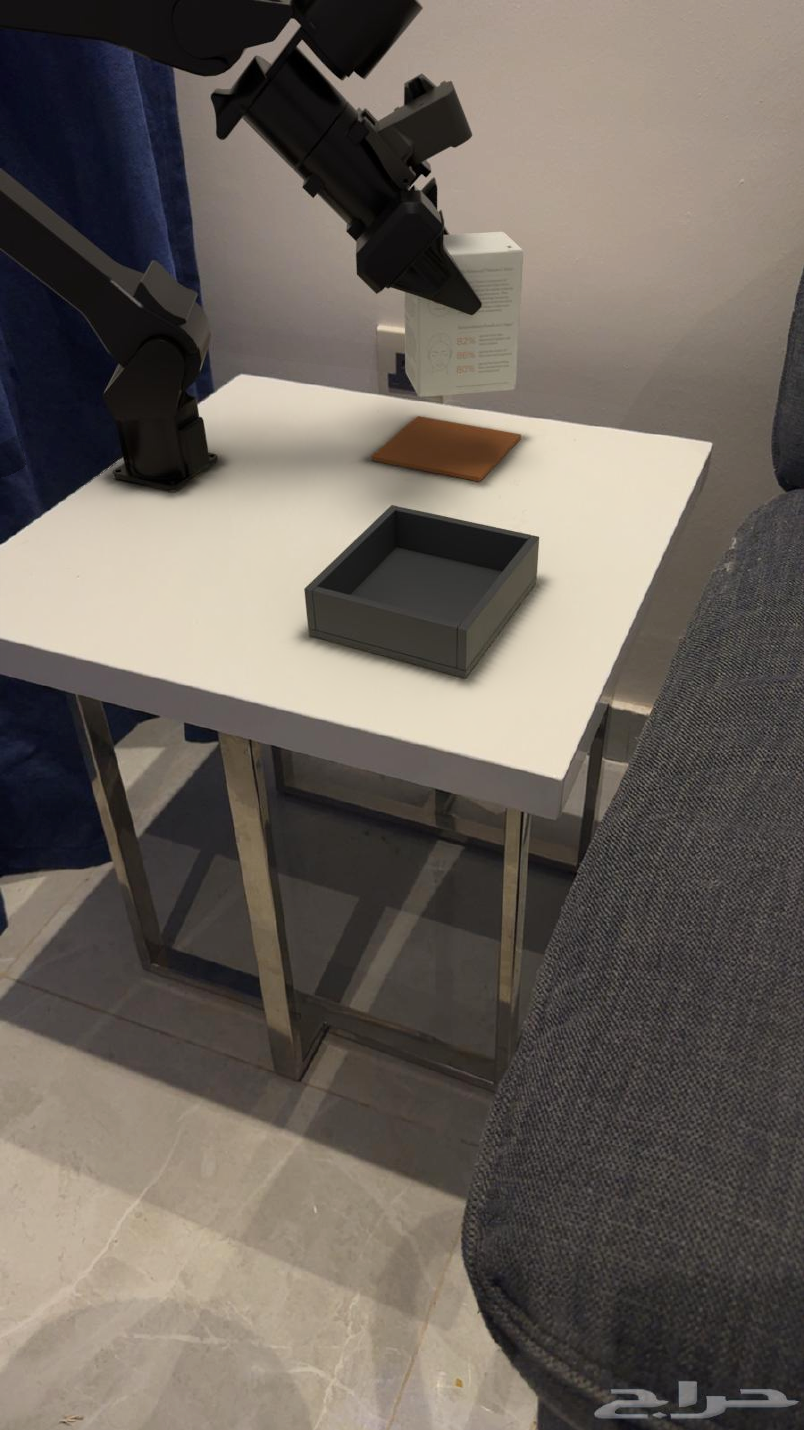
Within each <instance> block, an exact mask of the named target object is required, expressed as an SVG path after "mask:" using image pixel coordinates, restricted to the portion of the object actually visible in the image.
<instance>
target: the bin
mask: <svg viewBox="0 0 804 1430" xmlns="http://www.w3.org/2000/svg"><path fill="white" fill-rule="evenodd" d="M539 548H540V536H537V535H533V534H529V533H524V532H519V531H515V530H510V529H506V528H501V527H497V526H492V525H488V524H482V523H478V522H473V521H469V520H463V519H459V518H454V517H450V516H446V515H442V514H441V515H440V514H436V513H431V512H427V511H422V510H417V509H412V508H408V507H403V506H400V505H399V506H398V505H393V504H391V505H390V506H389V507H388V508H387V509H385V511H384V512H383V513H382V514H380V515H379V516H378V517H377V518H376V519H375V521H373V522H372V523H371V524H370V525H369V526H368V527H367V528H365V530H364V531H363V532H362V533H361V534H359V536H357V537H356V538H355V539H354V540H353V541H352V542H351V543H350V544H349V545H348V546H347V547H346V548H345V549H344V550H343V551H342V552H341V553H340V554H339V555H338V556H337V557H336V558H335V559H333V561H331V562H330V563H329V564H328V565H327V566H326V567H325V568H324V569H323V570H322V571H321V572H320V573H319V574H318V575H316V577H315V578H314V579H312V581H310V583H308V585H307V586H305V587H304V588H303V590H304V600H305V611H306V621H307V628H308V635H309V636H310V637H314V638H318V639H322V640H325V641H328V642H332V643H336V644H338V645H339V644H340V645H342V646H346V647H351V648H354V649H357V650H361V651H365V652H369V653H372V654H376V655H380V656H382V657H387V658H391V659H394V660H396V661H397V660H398V661H402V662H405V663H409V664H412V665H416V666H420V667H424V668H427V669H431V670H434V671H437V672H441V673H445V674H448V675H452V676H456V677H460V678H464V679H467V677H468V675H469V674H470V673H471V671H472V670H473V669H474V668H475V666H476V665H477V663H478V662H479V661H480V659H481V658H482V657H483V655H484V654H485V652H486V651H487V650H488V648H489V647H490V646H491V645H492V643H493V642H494V641H495V639H496V637H498V635H499V633H500V632H501V631H502V629H503V628H504V627H505V625H506V624H507V623H508V621H509V620H510V619H511V617H512V616H513V614H514V613H515V612H516V610H517V609H518V608H519V606H520V605H521V604H522V602H523V601H524V600H525V598H526V597H527V595H529V593H530V591H531V590H532V589H533V587H534V586H535V585H536V583H537V582H538V581H537V579H538V565H539V551H540V549H539Z"/></svg>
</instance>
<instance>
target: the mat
mask: <svg viewBox="0 0 804 1430" xmlns="http://www.w3.org/2000/svg"><path fill="white" fill-rule="evenodd" d="M521 438H522V434H521V433H515V432H509V431H503V430H498V429H493V428H488V427H487V428H486V427H480V426H475V425H470V424H466V423H465V424H464V423H459V422H453V421H448V420H440V419H437V418H436V419H435V418H431V417H425V416H419V415H418V416H416V417H415V418H414V419H413V420H411V421H410V422H409V423H408V424H407V425H405V426H404V427H403V428H402V429H401V430H400V431H398V432H397V433H396V434H395V435H394V436H393V437H391V438H390V439H389V440H388V441H387V442H386V443H384V445H382V446H381V447H380V448H379V449H378V450H376V451H375V452H374V453H373V454H372V455H371V456H370V459H371V461H373V462H379V463H383V464H389V465H394V466H398V467H403V468H407V469H414V470H420V471H423V472H424V471H425V472H429V473H435V474H440V475H444V476H449V477H455V478H458V479H459V478H460V479H465V480H469V481H475V482H478V483H479V482H482V481H483V479H484V478H485V477H486V476H487V475H488V474H489V473H490V472H491V471H492V470H493V469H494V468H495V466H497V465H498V464H499V462H500V461H501V460H502V459H503V458H504V457H505V456H506V455H507V454H508V453H509V451H511V450H512V448H513V447H514V446H515V445H516V444H517V443H518V442H519V441H520V440H521Z"/></svg>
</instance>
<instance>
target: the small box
mask: <svg viewBox="0 0 804 1430" xmlns="http://www.w3.org/2000/svg"><path fill="white" fill-rule="evenodd" d="M443 244H444V246H445V248H446V249H447V251H448V252H449V254H450V255H451V257H452V258H453V260H454V261H455V263H456V264H457V266H458V267H459V269H460V270H461V272H462V273H463V275H464V276H465V278H466V279H467V281H468V282H469V284H470V285H471V287H472V288H473V290H474V291H475V293H476V295H477V296H478V298H479V299H480V301H481V303H482V307H481V308H480V309H479V310H478V311H477V312H476V313H475V314H474V315H469V314H466V313H463V312H461V311H458V310H455V309H453V308H450V307H447V306H444V305H442V304H439V303H436V302H433V301H431V300H428V299H425V298H422V297H419V296H416V295H413V294H410V293H407V292H404V356H405V357H404V365H405V366H404V367H405V368H404V370H405V374H406V376H407V378H408V380H409V382H410V384H411V386H412V388H413V389H414V391H415V393H416V395H417V396H418V397H419V398H425V397H439V396H450V395H451V396H452V395H465V394H476V393H490V392H499V391H500V392H501V391H513V390H515V389H516V387H517V373H518V354H519V353H518V351H519V335H520V333H519V331H520V317H521V300H522V284H523V264H524V250H523V248H521V246H519V245H518V244H517V243H516V242H515V241H514V240H513V239H512V238H511V237H510V236H509V235H508V234H507V233H505V232H504V231H490V232H487V231H486V232H471V233H456V234H455V233H454V234H450V235H444V242H443Z"/></svg>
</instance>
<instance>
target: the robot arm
mask: <svg viewBox="0 0 804 1430" xmlns="http://www.w3.org/2000/svg"><path fill="white" fill-rule="evenodd" d="M423 9H424V6H423V5H422V4H421V2H420V1H419V0H0V29H5V30H11V31H12V30H13V31H20V32H21V31H22V32H29V33H36V34H45V35H53V36H60V37H67V38H68V37H69V38H76V39H82V40H83V39H84V40H91V41H99V42H105V43H108V44H111V45H113V46H116V47H120V48H121V49H125V50H126V51H129V52H132V53H134V54H136V55H138V56H140V57H143V58H145V59H147V60H149V61H151V62H155V63H158V64H160V65H165V66H167V67H169V68H173V69H177V70H180V71H183V72H185V73H188V74H192V75H196V76H200V77H203V78H205V77H217V76H219V75H222V74H225V73H226V72H228V71H229V70H231V69H232V67H233V66H235V64H236V63H238V62H239V61H240V59H241V57H242V56H243V55H244V54H245V52H246V51H247V50H248V49H249V48H254V47H257V46H261V45H264V44H268V43H273V42H274V41H275V40H277V38H278V37H279V36H280V34H281V33H282V31H283V30H284V29H285V28H286V27H287V25H288V24H289V22H290V21H291V20H292V19H293V20H295V21H296V22H297V23H298V24H299V27H297V29H296V30H295V32H294V33H293V34H292V36H291V37H290V39H289V40H288V41H287V43H285V45H284V46H283V47H282V49H281V50H280V51H279V53H278V54H277V55H276V56H275V58H274V59H273V61H272V62H271V63H270V62H269V61H268V60H267V59H265V58H264V57H262V56H260V55H254V57H253V58H252V59H251V60H250V62H249V63H248V64H247V66H246V67H245V68H244V70H243V71H242V72H241V74H240V75H239V77H238V78H237V79H236V81H235V82H234V83H233V84H232V86H231V87H230V88H218V87H217V88H215V89H214V90H213V91H212V93H211V94H210V101H211V103H212V106H213V110H214V115H215V116H214V117H215V136H216V137H217V138H218V140H220V141H225V140H227V138H228V137H229V136H230V134H231V133H232V132H233V131H234V129H235V128H236V126H237V125H238V124H239V122H240V121H241V120H243V121H245V123H246V124H248V126H249V127H250V128H251V129H252V130H253V131H254V132H255V133H256V134H257V135H258V136H259V137H260V138H261V139H262V140H263V141H264V142H265V143H266V144H267V145H268V146H269V147H270V148H271V149H272V150H273V151H274V152H276V154H277V155H278V156H279V157H280V158H281V159H282V160H283V161H284V162H285V163H286V164H287V165H288V166H289V167H290V168H291V169H292V170H293V172H295V173H296V174H297V176H299V177H300V178H301V179H302V180H303V182H302V187H301V188H302V189H303V190H304V191H305V192H306V193H307V194H308V195H309V196H310V197H311V198H312V199H314V198H315V197H316V196H317V195H318V196H319V197H320V198H321V200H323V201H324V202H325V204H326V205H328V206H329V207H330V209H332V210H333V211H334V212H335V213H336V215H338V216H339V218H340V219H341V220H343V221H344V222H345V224H346V229H345V230H346V233H347V234H348V235H349V236H350V237H351V238H352V239H353V240H354V241H355V243H356V244H355V245H356V246H355V264H356V267H355V268H356V276H358V277H359V279H360V280H362V281H363V283H365V284H366V285H367V287H369V288H370V289H371V291H372V292H374V293H375V295H377V294H379V293H381V292H382V291H383V290H385V288H386V289H390V288H391V289H394V290H397V291H400V292H404V293H405V292H407V293H410V294H413V295H416V296H419V297H422V298H425V299H428V300H431V301H433V302H436V303H439V304H442V305H444V306H447V307H450V308H453V309H455V310H458V311H461V312H463V313H466V314H469V315H474V314H475V313H476V312H477V311H478V310H479V309H480V308H481V307H482V303H481V301H480V299H479V298H478V296H477V295H476V293H475V291H474V290H473V288H472V287H471V285H470V284H469V282H468V281H467V279H466V278H465V276H464V275H463V273H462V272H461V270H460V269H459V267H458V266H457V264H456V263H455V261H454V260H453V258H452V257H451V255H450V254H449V252H448V251H447V249H446V248H445V246H444V244H443V242H444V235H451V233H450V232H449V230H448V229H447V227H446V226H445V218H444V213H443V210H442V209H440V210H439V211H438V184H437V179H436V177H432V178H431V179H430V180H429V181H428V182H427V183H426V184H425V185H424V186H423V187H422V188H421V189H418V188H417V186H416V185H415V184H414V183H416V182H417V180H418V179H419V178H420V177H421V176H423V177H425V178H427V177H429V175H430V174H431V173H432V168H431V164H430V163H429V161H428V160H429V159H431V158H432V157H434V156H436V155H438V154H440V153H442V152H443V151H446V150H447V149H449V148H455V149H456V148H458V147H459V146H461V145H463V144H464V143H466V142H468V141H469V140H471V138H472V137H473V133H472V130H471V126H470V124H469V122H468V119H467V117H466V114H465V111H464V108H463V106H462V104H461V101H460V98H459V96H458V93H457V91H456V89H455V86H454V83H453V81H452V80H449V81H446V80H443V81H442V82H440V84H439V85H438V86H437V85H436V84H435V83H434V82H432V80H430V78H428V77H427V76H426V75H425V74H423V73H420V74H418V75H417V76H415V77H413V78H411V79H409V80H407V81H406V82H404V84H403V105H402V106H397V107H395V108H394V109H393V111H392V112H390V113H389V114H387V115H385V116H384V117H382V118H380V119H379V120H378V119H377V118H376V117H375V115H373V114H372V113H371V112H370V111H369V110H368V109H367V108H366V107H365V108H363V110H362V109H361V108H360V107H357V109H356V108H355V107H354V106H353V105H352V104H351V103H350V101H348V100H347V99H346V98H345V96H343V95H342V93H341V92H340V91H339V90H338V89H337V88H336V87H335V86H334V85H333V84H332V82H331V81H330V80H329V79H328V78H327V77H326V76H325V75H324V74H323V73H322V72H321V70H320V69H319V68H318V67H317V66H316V65H315V64H314V63H313V62H312V61H311V59H309V57H308V56H307V55H306V54H305V53H304V52H303V51H302V49H300V48H299V47H298V45H300V43H301V42H302V41H303V43H305V45H306V46H307V47H308V48H309V49H310V51H311V52H312V53H313V54H314V55H315V56H316V58H317V59H318V60H319V61H320V62H321V63H322V64H323V65H324V66H325V67H326V68H327V69H328V70H329V72H331V74H333V75H334V76H335V78H337V79H339V80H340V81H342V82H344V81H345V79H346V78H350V77H351V76H352V75H353V74H354V73H355V74H356V75H357V76H359V77H360V78H361V79H363V80H366V79H367V78H368V77H369V75H370V74H371V73H372V72H373V71H374V69H375V68H376V67H377V65H378V64H379V63H380V62H381V61H382V59H383V58H384V57H385V56H386V54H387V53H388V52H389V51H390V50H391V49H392V47H393V46H394V45H395V43H396V42H397V41H398V40H399V39H400V38H401V36H402V35H403V34H404V32H405V31H406V30H407V29H408V28H409V26H410V25H411V24H412V22H413V21H414V20H415V19H416V18H417V16H419V14H420V13H421V11H423ZM0 251H1V252H2V253H4V254H6V256H8V257H9V258H10V259H12V260H13V261H14V262H16V263H17V264H18V265H19V266H21V268H23V269H24V270H26V271H27V272H28V273H30V274H31V275H32V276H33V277H35V278H36V279H37V280H39V281H40V282H41V283H42V284H44V285H45V286H46V287H47V288H49V289H50V290H52V291H53V292H54V293H55V294H57V295H58V296H59V297H60V298H62V299H63V300H64V301H65V302H67V303H68V304H69V305H71V306H72V307H73V308H74V309H76V310H77V311H78V312H79V313H80V314H81V315H82V316H83V317H84V318H85V319H86V321H87V322H88V324H89V325H90V327H91V328H92V330H93V332H94V333H95V335H96V336H97V337H98V339H99V341H100V342H101V344H102V345H103V347H104V349H105V350H106V352H107V353H108V354H109V355H110V356H111V357H112V359H114V360H115V361H116V363H118V365H117V366H116V368H115V370H114V372H113V375H112V376H111V378H110V380H109V382H108V384H107V385H106V387H105V389H104V392H103V394H102V396H101V398H102V401H103V403H104V404H105V406H106V407H107V409H108V411H109V412H110V415H111V416H112V417H113V419H114V420H115V421H114V422H115V426H116V431H117V435H118V436H117V437H118V440H119V444H120V445H119V446H120V449H121V454H122V458H123V463H122V464H121V465H119V466H118V467H115V469H113V470H112V476H113V478H115V479H117V480H122V481H126V482H131V483H135V484H136V483H137V484H140V485H144V486H149V487H153V488H157V489H163V490H166V491H177V490H179V489H180V488H182V487H183V486H185V485H186V484H187V483H189V482H191V481H192V480H194V479H195V478H196V477H197V476H199V475H200V474H202V473H203V472H205V471H206V470H207V469H209V468H210V467H211V466H213V465H214V464H215V463H217V462H218V461H219V457H218V454H217V453H214V452H209V447H208V441H207V434H206V428H205V424H204V423H205V421H204V418H203V417H202V416H200V412H199V407H198V401H197V400H198V399H197V396H195V395H190V393H189V391H188V390H187V389H189V388H190V387H191V386H193V384H194V383H195V382H196V381H197V378H198V376H199V375H200V373H201V370H202V367H203V364H204V362H205V358H206V355H207V354H208V350H209V348H210V342H211V336H212V333H211V327H210V322H209V317H208V315H207V313H206V311H205V310H204V309H203V308H202V307H201V306H200V305H199V303H198V302H197V301H196V300H197V297H198V296H199V295H198V292H197V291H195V290H193V289H190V288H187V287H185V286H184V285H182V284H181V283H179V282H178V281H177V279H175V278H174V277H173V276H172V275H171V274H170V272H168V270H167V269H166V268H165V267H164V266H163V265H162V264H160V263H159V261H157V260H155V259H153V260H151V262H150V263H149V265H148V266H147V269H146V271H145V272H144V273H143V272H141V271H138V270H135V269H132V268H129V267H128V266H124V265H122V264H120V263H119V262H117V261H115V260H114V259H113V258H111V257H110V256H109V255H108V254H106V253H105V252H104V251H102V250H101V248H99V247H98V246H97V245H95V244H94V243H93V242H92V241H91V240H89V239H88V238H87V237H85V235H83V234H82V233H81V232H79V231H78V230H77V229H76V228H75V227H74V226H72V225H71V224H69V222H68V221H66V220H65V219H63V218H62V217H61V216H60V215H59V214H57V213H56V212H55V211H54V210H53V209H51V208H50V207H49V206H48V205H47V204H45V203H44V202H43V201H42V200H40V199H39V198H38V197H37V196H36V195H34V194H33V193H32V192H30V190H29V189H27V188H25V186H23V185H22V184H21V183H20V182H19V181H17V180H16V179H15V178H14V177H12V176H11V175H10V174H8V172H6V171H5V170H3V168H1V167H0Z"/></svg>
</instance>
